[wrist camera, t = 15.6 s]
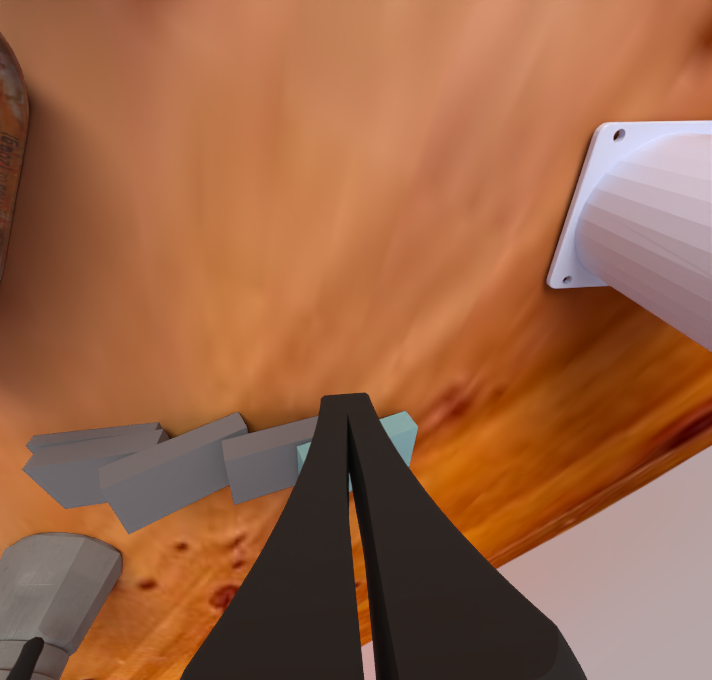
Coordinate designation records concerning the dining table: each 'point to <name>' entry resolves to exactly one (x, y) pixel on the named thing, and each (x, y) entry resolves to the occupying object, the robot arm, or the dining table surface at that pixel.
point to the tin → (10, 138)
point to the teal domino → (398, 431)
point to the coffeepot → (51, 600)
